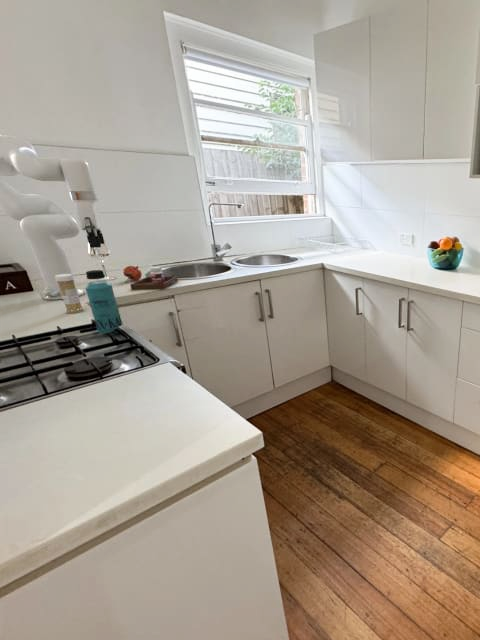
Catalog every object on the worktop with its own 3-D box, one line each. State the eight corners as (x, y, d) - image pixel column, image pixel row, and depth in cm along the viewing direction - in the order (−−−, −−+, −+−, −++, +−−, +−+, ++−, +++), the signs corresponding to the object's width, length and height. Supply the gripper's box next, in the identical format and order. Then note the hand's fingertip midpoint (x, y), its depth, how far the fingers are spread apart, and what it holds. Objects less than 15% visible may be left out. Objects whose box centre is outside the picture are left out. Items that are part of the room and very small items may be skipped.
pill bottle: (152, 287, 169) (147, 268, 166) (155, 285, 173) (151, 266, 170) (164, 287, 170) (159, 268, 167) (167, 284, 175) (163, 266, 171)
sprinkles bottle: (65, 311, 137) (53, 274, 132) (81, 308, 141) (70, 272, 136) (68, 314, 135) (56, 276, 130) (85, 311, 138) (73, 274, 133)
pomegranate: (135, 287, 179) (149, 271, 184) (120, 276, 174) (135, 260, 178) (128, 286, 183) (142, 271, 187) (113, 276, 178) (128, 260, 182)
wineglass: (99, 281, 179) (87, 242, 172) (93, 279, 183) (82, 241, 176) (119, 278, 185) (109, 241, 178) (113, 276, 189) (103, 239, 183)
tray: (164, 289, 169) (163, 283, 168) (131, 290, 166) (130, 284, 165) (177, 281, 182) (176, 276, 181) (147, 282, 180) (146, 276, 179)
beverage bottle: (97, 334, 117) (77, 270, 110) (123, 329, 122) (106, 267, 114) (101, 340, 113) (80, 274, 106) (127, 335, 118) (109, 271, 110)
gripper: (75, 196, 142) (88, 243, 148) (65, 197, 128) (80, 249, 134) (100, 196, 145) (112, 242, 152) (93, 198, 132) (107, 248, 138)
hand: (97, 245), depth 143 cm, fingers open, 9 cm apart
